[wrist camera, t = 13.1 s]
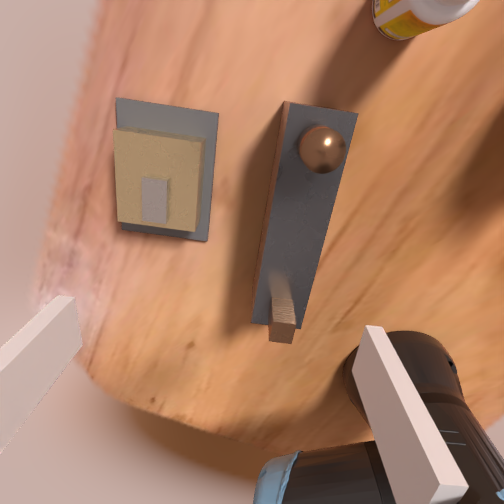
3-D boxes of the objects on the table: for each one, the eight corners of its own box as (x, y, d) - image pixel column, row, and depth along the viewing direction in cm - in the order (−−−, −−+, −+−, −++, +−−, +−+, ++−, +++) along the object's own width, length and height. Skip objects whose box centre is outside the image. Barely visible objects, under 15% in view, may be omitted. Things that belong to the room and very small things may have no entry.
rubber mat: (207, 239, 38) (207, 241, 37) (123, 227, 38) (121, 229, 37) (218, 113, 32) (218, 113, 31) (118, 97, 31) (115, 97, 31)
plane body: (294, 293, 41) (305, 355, 31) (252, 287, 41) (250, 349, 31) (338, 109, 31) (374, 116, 22) (284, 101, 31) (295, 104, 21)
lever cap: (200, 220, 36) (193, 235, 32) (130, 210, 36) (114, 224, 32) (206, 138, 32) (199, 143, 28) (127, 125, 32) (109, 130, 28)
